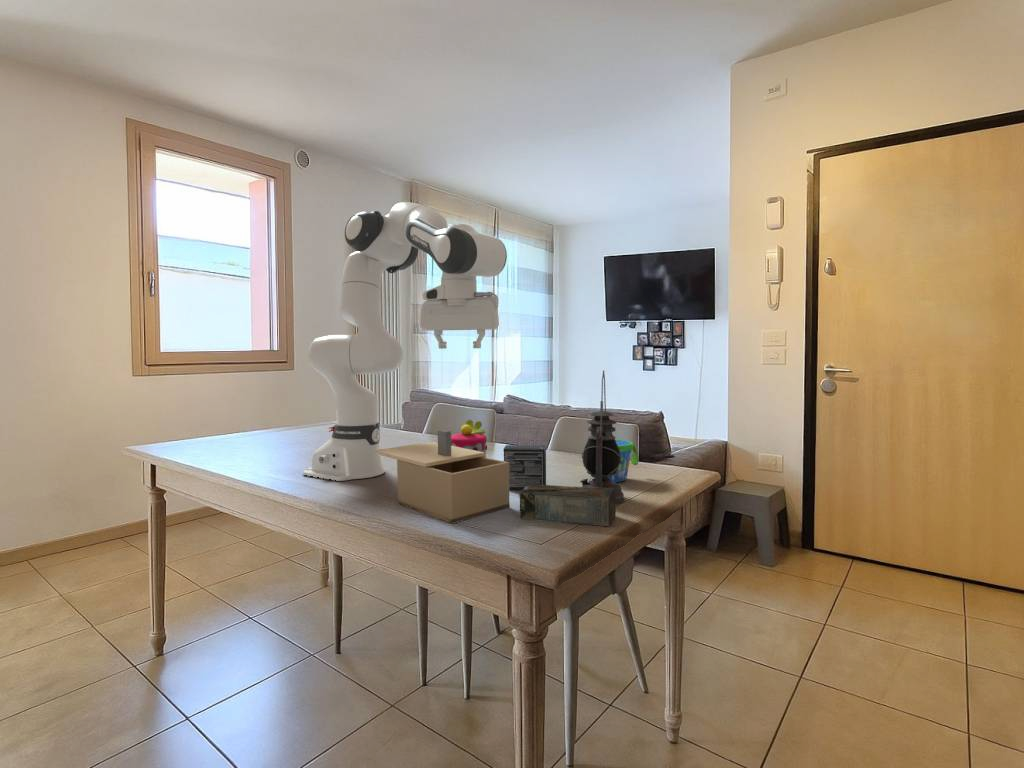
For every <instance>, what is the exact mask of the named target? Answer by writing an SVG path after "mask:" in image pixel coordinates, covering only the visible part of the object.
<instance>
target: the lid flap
mask: <svg viewBox="0 0 1024 768" xmlns="http://www.w3.org/2000/svg"><path fill="white" fill-rule="evenodd" d="M451 436H452V431H450V430H446V429H439V430H437V442H435V441H428V442H422V443H421V442H420V443H415V444H407V445H401V446H395V447H387V448H381V449H380V450H375V454H378V455H381V457H382V456H383V457H386V458H390V459H394V460H396V461H397V460H401V461H405V462H408V463H412V464H416V465H419V466H423V467H428V466H434V465H439V464H444V463H450V462H455V461H460V460H465V459H471V458H476V457H481V456H485V452H480V451H475V450H470V449H465V448H460V447H456V446H451Z"/></svg>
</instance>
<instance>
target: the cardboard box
mask: <svg viewBox="0 0 1024 768" xmlns="http://www.w3.org/2000/svg"><path fill="white" fill-rule="evenodd" d="M396 471H397V473H396V474H397V476H396V477H397V504H398V503H400V504H399V505H401V504H402V506H404V505H405V506H404V507H406V506H408V507H407V508H409V507H411V508H410V509H412V508H413V509H412V510H415V509H416V510H415V511H417V510H419V511H418V512H420V511H421V512H420V513H423V512H424V513H423V514H425V513H426V515H428V514H429V515H428V516H431V515H432V516H431V517H433V516H434V518H436V517H437V519H439V518H440V519H439V520H441V519H442V520H441V521H444V520H445V521H444V522H447V521H448V522H447V523H449V522H450V523H449V524H454V523H453V522H456V523H458V522H457V521H459V522H462V521H461V520H463V521H465V519H466V520H469V519H468V518H470V519H472V517H473V518H476V517H480V516H483V515H487V514H490V513H494V512H497V511H500V510H501V511H502V510H504V509H507V508H510V490H509V462H505V461H504V460H499V459H494V458H491V457H487V456H486V457H482V456H481V457H476V458H471V459H465V460H460V461H455V462H450V463H444V464H439V465H434V466H428V467H423V466H419V465H416V464H412V463H408V462H405V461H401V460H397V459H396ZM486 513H487V514H486Z"/></svg>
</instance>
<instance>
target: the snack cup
mask: <svg viewBox="0 0 1024 768" xmlns="http://www.w3.org/2000/svg"><path fill="white" fill-rule="evenodd" d="M615 441H616V444H617V446H618V448H619V451H620V453H621V460H622V463H621V464H620V466H619V468H618V469H617V471H616V474H615V475H613V476H612V477H611V478H608V479H610V480H611V482H614V483H621V482H625V481H626V480H627V478H628V472H629V469H630V468H629V466H630V461H631V465H632V466H637V465H638V464H639V454H638V453H639V452H638V449H637V447H636V445H635V444H634V443H633V441H630V440H624V439H615ZM631 454H632V457H631Z"/></svg>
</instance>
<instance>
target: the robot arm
mask: <svg viewBox="0 0 1024 768" xmlns="http://www.w3.org/2000/svg"><path fill="white" fill-rule="evenodd" d="M344 238H345V242H346V243H347V244H348V245H349V247H351V248H352V249H353V250H355V251H354V252H352V253H350V254H349V255H348V256H347V258H346V260H345V262H344V266H343V270H342V275H341V280H340V292H339V302H338V303H339V304H338V311H339V314H340V316H341V318H342V319H343V320H344V321H346V322H347V323H349V324H350V325H353V326H355V327H357V333H356V334H330V335H323V336H320V337H316V338H314V339H313V341H312V342H311V343H310V345H309V347H308V352H307V354H308V355H307V357H308V361H309V364H310V365H311V367H312V368H313V369H314V370H315V372H318V373H319V374H320V375H321V376H322V377H323V378H324V380H325V381H327V383H328V384H329V386H330V388H331V390H332V393H333V396H334V401H335V411H336V424H335V425H334V426H330V427H328V429H329V430H328V432H329V433H331V432H332V433H331V438H329V439H328V440H327V441H326V442H324V443H323V444H322V445H320V447H318V448H317V449H316V450H315V451H314V452H313V454H312V457H311V465H310V467H308V468H306V469H304V470H303V472H302V476H304V475H307V476H306V477H310V476H313V477H312V478H317V477H319V478H318V479H323V478H324V480H329V479H331V480H330V481H335V480H336V481H337V482H343V481H349V480H350V481H351V480H359V479H368V478H374V477H377V476H380V475H382V474H384V473H385V471H386V470H385V468H384V465H383V461H382V460H383V459H382V455H378V454H375V450H380V439H381V437H380V436H381V430H380V423H379V422H378V421H379V412H378V397H377V395H376V393H374V392H373V391H372V390H371V389H369V388H367V387H365V386H363V385H362V384H360V382H359V380H358V377H357V375H383V374H387V373H391V372H396V371H397V370H398V368H399V367H401V364H402V361H403V357H404V353H403V348H402V345H401V343H400V341H399V340H398V339H397V338H396V337H395V336H393V335H392V334H391V333H390V332H389V331H388V330H387V329H386V327H385V326H384V323H383V320H382V317H381V291H382V290H381V288H382V286H381V285H382V284H381V283H382V276H383V274H384V272H385V271H386V272H387V273H388V274H395V273H396V272H398V271H403V270H405V269H408V268H410V267H411V266H412V265H413V264H414V263H415V262H416V260H417V258H418V255H419V250H420V251H423V252H424V253H426V254H427V255H429V256H430V258H432V260H433V262H435V264H436V265H437V267H438V268H439V269H440V270H441V274H442V275H441V278H440V284H439V285H438V286H435V287H433V288H430V289H427V290H425V291H423V293H422V299H423V301H424V302H423V303H422V305H421V307H420V323H419V324H420V327H421V329H422V330H423V331H426V332H427V331H428V332H429V331H431V332H432V331H433V335H434V337H435V339H436V340H437V343H438V344H437V345H438V349H440V350H441V349H442V350H443V349H444V350H445V349H447V346H448V345H447V341H444V340H443V337H442V335H443V331H476V335H478V336H477V338H476V340H473V341H472V348H473V349H481V348H482V341H483V339H484V337H485V336H486V331H488V330H497V329H498V327H499V326H500V318H499V311H498V308H499V297H498V295H497V294H496V293H493V291H486V292H485V291H484V292H483V291H478V290H477V288H478V287H477V283H478V282H477V277H483V278H491V277H496V276H498V275H499V274H501V272H503V270H504V268H505V266H506V264H507V261H508V260H507V257H508V253H507V248H506V246H505V244H504V242H503V241H502V240H501V239H499V238H497V237H494V236H491V235H487V234H484V233H480V232H479V231H477V230H475V229H474V227H473V226H471V225H468V224H460V223H459V224H454V225H451V226H449V225H448V221H447V219H446V217H444V216H443V215H442V214H441V213H440V212H438V211H437V210H435V209H433V208H431V207H428V206H427V205H423V204H421V203H416V202H409V201H402V202H398V203H396V204H395V205H394V206H393V207H392V208H391V209H390V211H389V213H388V214H387V215H382V213H381V212H380V211H379V210H373V211H370V212H369V211H362V212H358V213H355V214H353V215H352V216H351V217H350V218H349V219H348V221H347V223H346V225H345V228H344Z"/></svg>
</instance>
